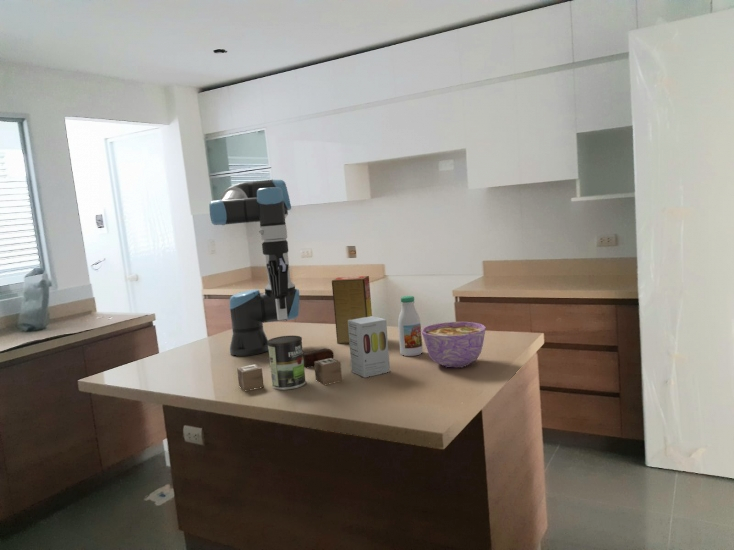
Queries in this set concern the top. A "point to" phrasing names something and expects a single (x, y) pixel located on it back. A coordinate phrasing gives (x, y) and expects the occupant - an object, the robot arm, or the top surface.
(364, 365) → the supplement box
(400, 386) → the top surface
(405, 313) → the milk bottle
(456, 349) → the bowl of food
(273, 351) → the coffee can
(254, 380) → the number block left
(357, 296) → the food packaging
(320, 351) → the brick
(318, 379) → the number block right
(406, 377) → the top surface
